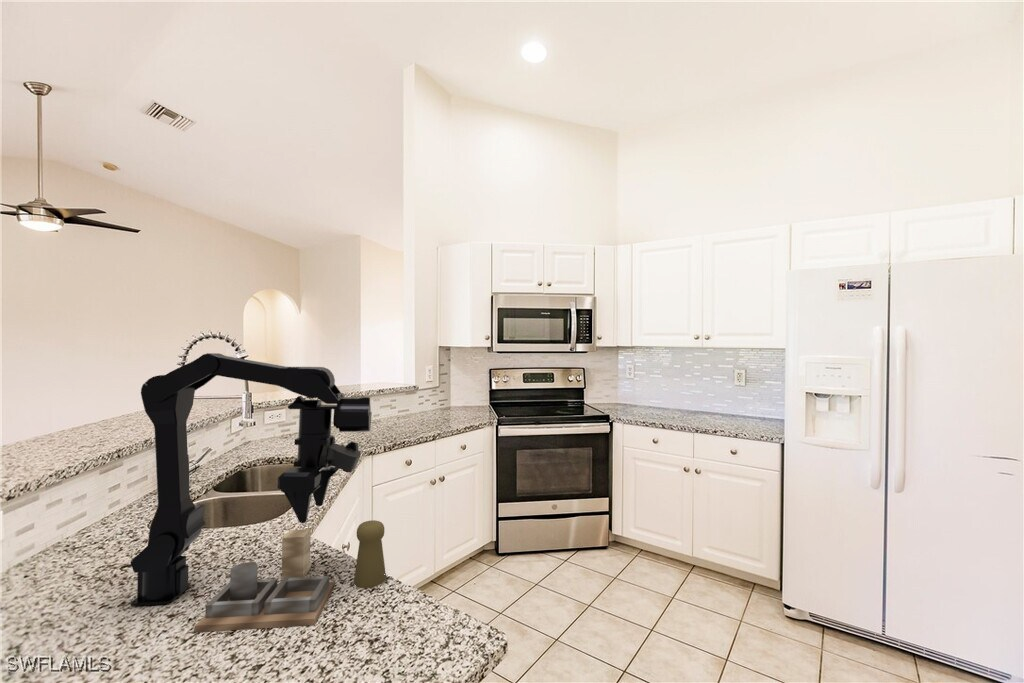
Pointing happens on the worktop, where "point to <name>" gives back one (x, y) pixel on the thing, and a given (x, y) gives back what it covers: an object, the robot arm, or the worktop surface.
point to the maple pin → (296, 553)
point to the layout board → (265, 601)
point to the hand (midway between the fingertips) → (311, 513)
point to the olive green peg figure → (370, 555)
